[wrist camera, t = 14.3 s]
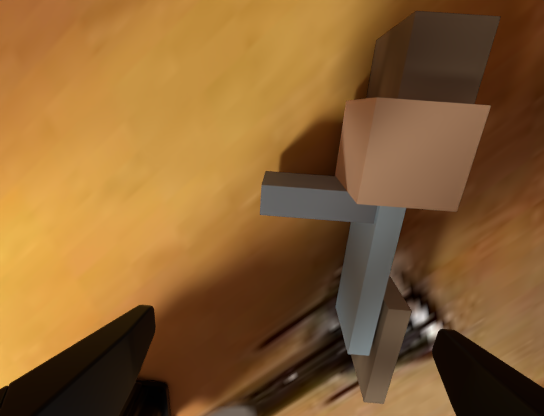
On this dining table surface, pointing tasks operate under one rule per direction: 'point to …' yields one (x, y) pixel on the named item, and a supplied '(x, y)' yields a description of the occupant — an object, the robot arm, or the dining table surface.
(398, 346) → the grey-brown blocks
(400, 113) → the tan rectangular block
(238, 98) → the dining table surface
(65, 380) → the robot arm
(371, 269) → the grey l-shaped bracket
